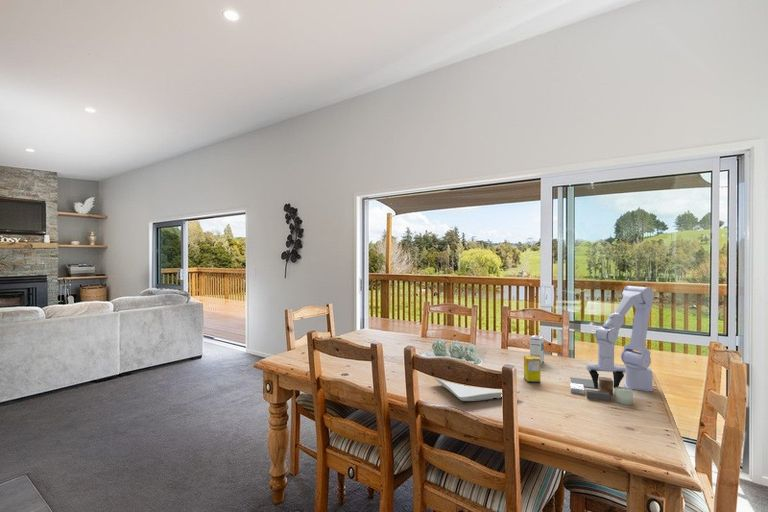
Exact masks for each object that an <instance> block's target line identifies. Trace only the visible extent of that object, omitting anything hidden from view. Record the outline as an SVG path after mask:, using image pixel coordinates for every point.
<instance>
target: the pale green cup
mask: <svg viewBox="0 0 768 512" xmlns="http://www.w3.org/2000/svg"><path fill="white" fill-rule="evenodd" d="M614 401H615V402H616V403H618V404H620V405H623V406H624V405H625V406H627V405H628V406H631V405H633V404H634V389H629V388H626V386H618V387H615V389H614Z"/></svg>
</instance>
